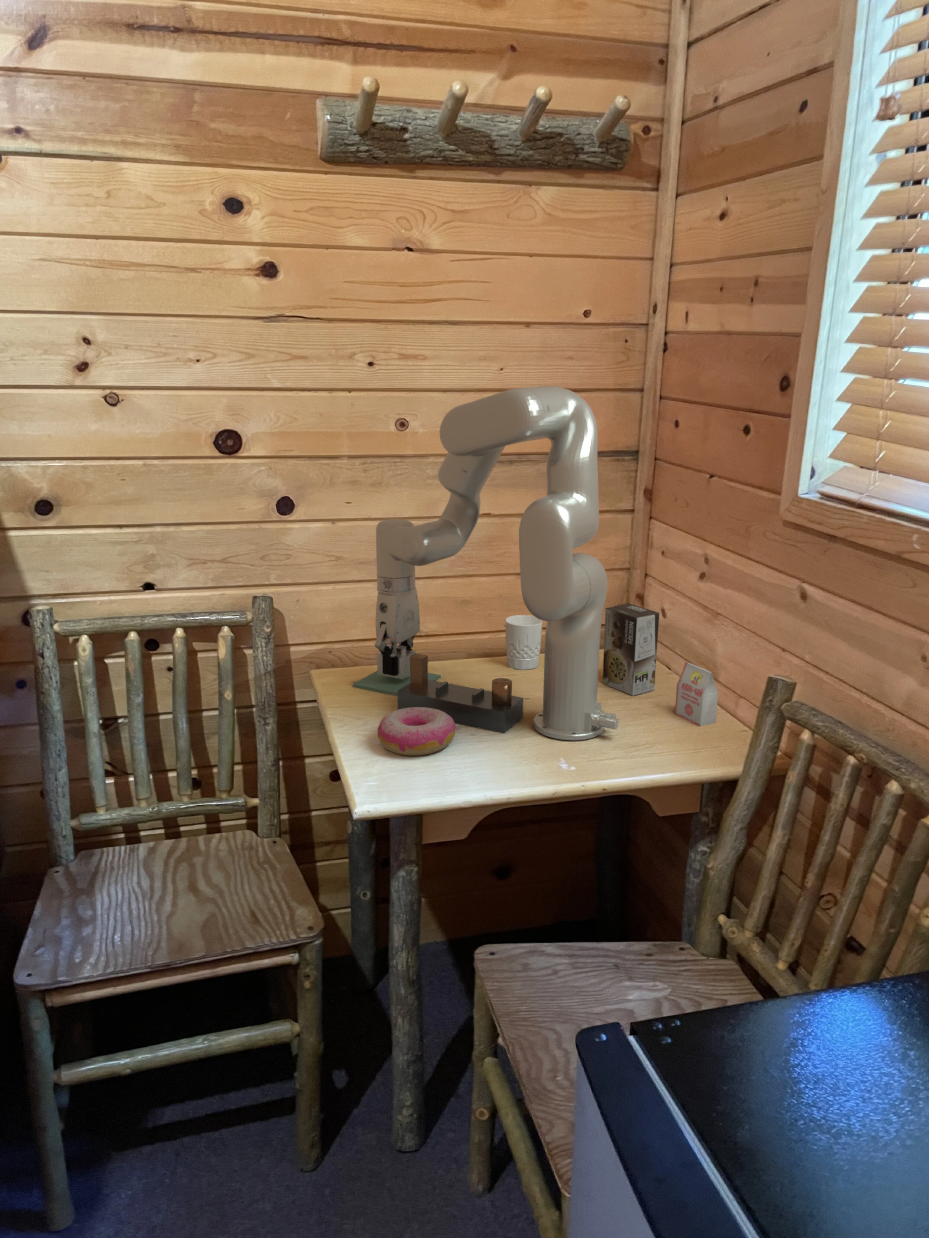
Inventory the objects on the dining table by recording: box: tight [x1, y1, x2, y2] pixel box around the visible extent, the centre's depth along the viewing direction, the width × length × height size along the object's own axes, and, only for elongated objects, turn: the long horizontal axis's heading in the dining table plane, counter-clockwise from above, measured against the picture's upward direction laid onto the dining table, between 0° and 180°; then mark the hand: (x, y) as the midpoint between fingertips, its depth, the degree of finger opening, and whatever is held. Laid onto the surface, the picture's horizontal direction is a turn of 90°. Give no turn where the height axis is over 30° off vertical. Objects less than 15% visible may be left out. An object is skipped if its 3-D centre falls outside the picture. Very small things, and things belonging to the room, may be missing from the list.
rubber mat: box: [352, 670, 442, 697], centre depth 187 cm, size 13×13×1 cm
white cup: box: [504, 614, 544, 671], centre depth 197 cm, size 8×8×10 cm
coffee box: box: [601, 602, 660, 697], centre depth 183 cm, size 9×6×16 cm
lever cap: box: [376, 644, 417, 679], centre depth 186 cm, size 6×5×6 cm
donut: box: [377, 707, 457, 757], centre depth 158 cm, size 14×13×5 cm
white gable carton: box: [674, 661, 719, 727], centre depth 169 cm, size 4×7×10 cm, turn 30°
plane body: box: [397, 653, 524, 734], centre depth 170 cm, size 22×8×10 cm, turn 63°
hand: (397, 669), depth 186 cm, fingers closed on lever cap, 4 cm apart
